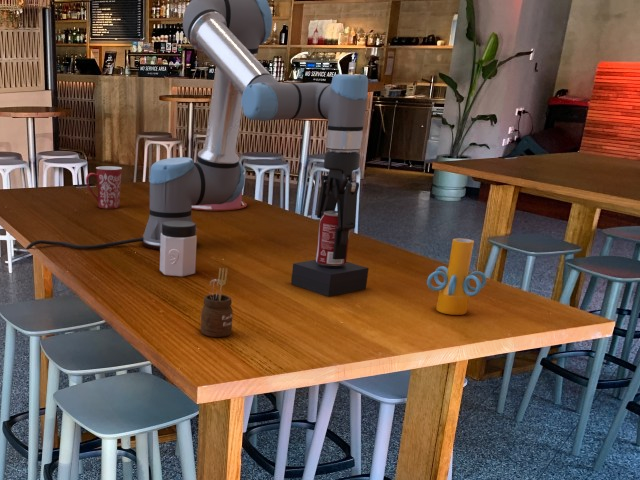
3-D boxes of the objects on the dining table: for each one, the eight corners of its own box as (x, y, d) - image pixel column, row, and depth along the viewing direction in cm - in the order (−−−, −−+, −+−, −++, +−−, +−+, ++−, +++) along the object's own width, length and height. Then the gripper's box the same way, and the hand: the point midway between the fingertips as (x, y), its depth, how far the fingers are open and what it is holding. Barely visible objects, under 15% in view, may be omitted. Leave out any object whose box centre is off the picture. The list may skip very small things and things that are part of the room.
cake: (218, 197, 300) (219, 168, 296) (261, 207, 280) (263, 176, 276) (163, 202, 288) (164, 172, 284) (204, 213, 268) (206, 181, 264)
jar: (155, 274, 192) (156, 225, 187) (164, 267, 199) (165, 219, 194) (191, 278, 189) (193, 228, 185) (198, 270, 197) (200, 221, 192)
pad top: (329, 285, 175) (330, 274, 174) (291, 273, 184) (292, 263, 183) (367, 278, 181) (368, 267, 180) (329, 267, 190) (330, 257, 189)
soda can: (346, 269, 178) (352, 216, 173) (315, 268, 179) (321, 214, 174) (344, 262, 184) (350, 210, 179) (315, 261, 185) (320, 209, 180)
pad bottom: (328, 296, 176) (329, 285, 175) (291, 284, 185) (291, 273, 184) (366, 289, 182) (367, 278, 181) (327, 277, 191) (329, 267, 190)
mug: (118, 204, 283) (118, 165, 278) (124, 208, 275) (124, 169, 270) (84, 205, 281) (83, 166, 276) (88, 210, 273) (88, 169, 267)
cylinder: (472, 323, 158) (485, 249, 153) (418, 314, 164) (430, 242, 158) (483, 308, 168) (496, 238, 162) (432, 300, 173) (443, 232, 167)
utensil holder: (196, 335, 150) (199, 274, 145) (205, 326, 155) (208, 266, 151) (227, 339, 148) (230, 277, 143) (235, 329, 153) (238, 269, 149)
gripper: (381, 155, 163) (367, 264, 172) (338, 145, 181) (327, 245, 190) (347, 155, 162) (335, 266, 171) (307, 146, 180) (298, 246, 189)
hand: (331, 254), depth 180 cm, fingers closed on soda can, 7 cm apart
